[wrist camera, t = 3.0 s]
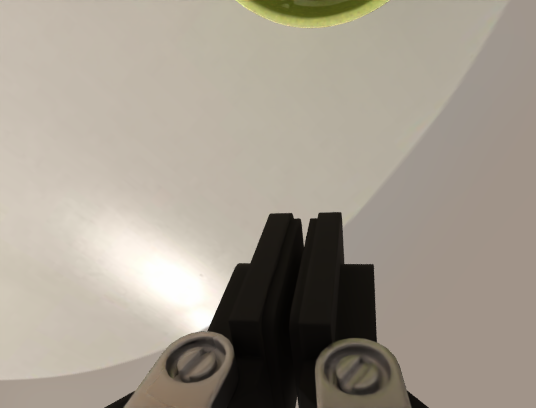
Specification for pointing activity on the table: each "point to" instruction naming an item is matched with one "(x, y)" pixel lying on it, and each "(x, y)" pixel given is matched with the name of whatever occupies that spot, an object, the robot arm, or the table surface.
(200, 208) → the table surface
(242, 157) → the table surface
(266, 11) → the plant pot
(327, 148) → the table surface
